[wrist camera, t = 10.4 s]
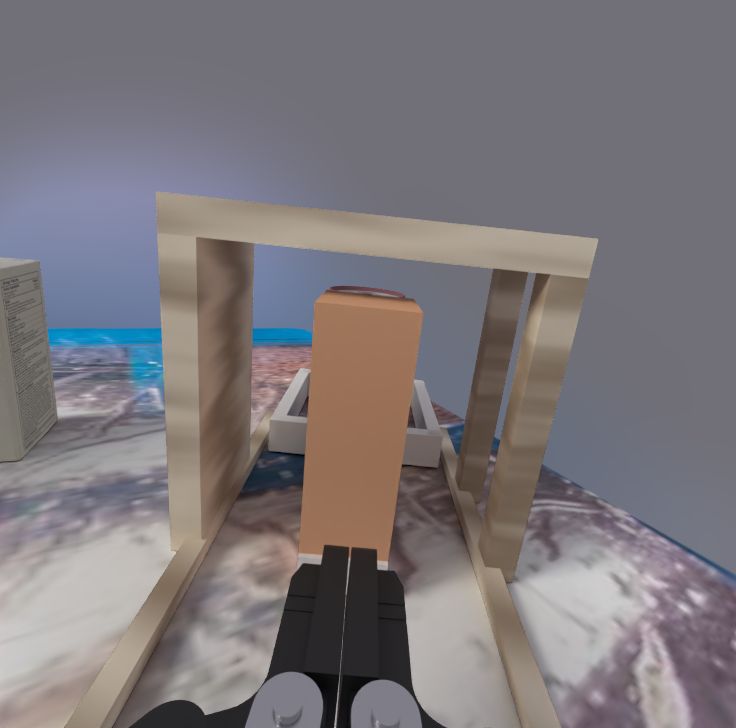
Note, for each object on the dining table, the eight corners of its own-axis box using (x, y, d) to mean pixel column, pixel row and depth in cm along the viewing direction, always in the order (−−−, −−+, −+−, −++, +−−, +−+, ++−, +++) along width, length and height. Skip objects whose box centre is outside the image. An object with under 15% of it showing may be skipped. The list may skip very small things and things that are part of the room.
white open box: (476, 607, 18) (540, 326, 15) (201, 580, 18) (196, 290, 15) (419, 403, 42) (438, 275, 38) (299, 391, 42) (306, 261, 38)
